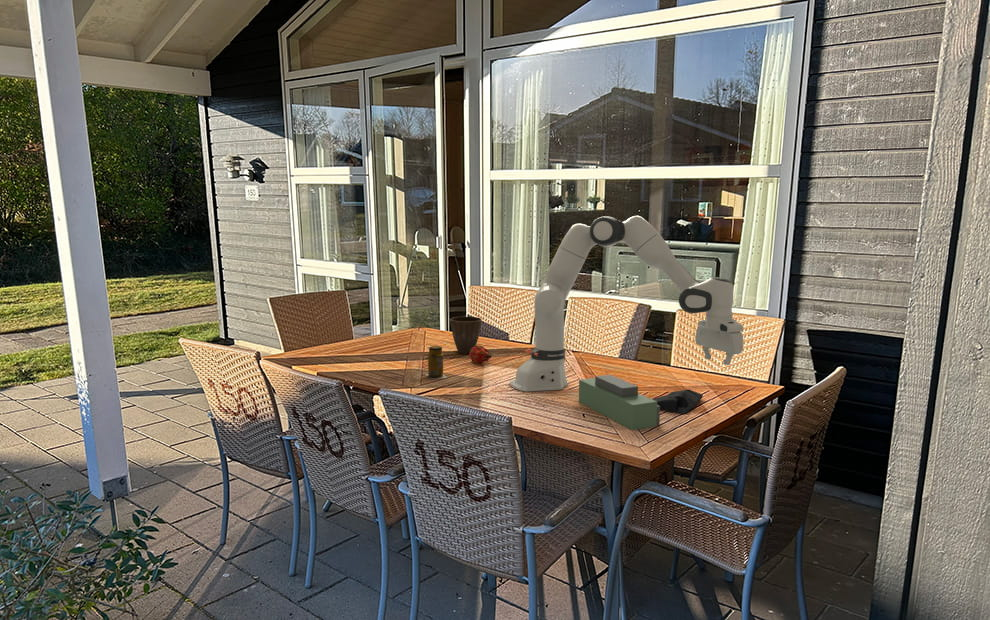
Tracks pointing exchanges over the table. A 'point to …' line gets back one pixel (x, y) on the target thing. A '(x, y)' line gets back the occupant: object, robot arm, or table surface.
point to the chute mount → (619, 401)
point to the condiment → (435, 363)
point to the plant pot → (465, 332)
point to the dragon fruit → (479, 354)
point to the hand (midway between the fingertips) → (717, 361)
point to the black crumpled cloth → (679, 401)
